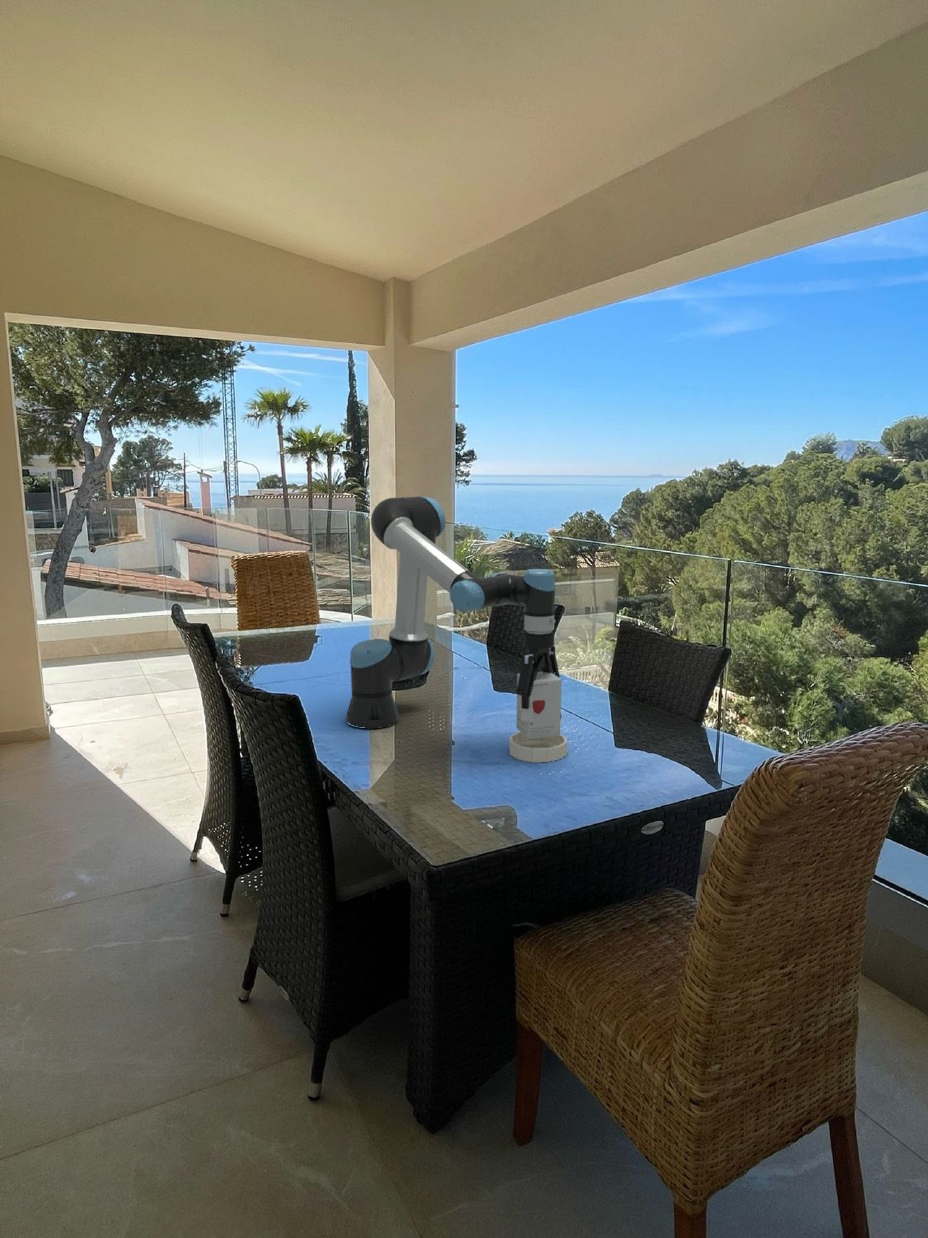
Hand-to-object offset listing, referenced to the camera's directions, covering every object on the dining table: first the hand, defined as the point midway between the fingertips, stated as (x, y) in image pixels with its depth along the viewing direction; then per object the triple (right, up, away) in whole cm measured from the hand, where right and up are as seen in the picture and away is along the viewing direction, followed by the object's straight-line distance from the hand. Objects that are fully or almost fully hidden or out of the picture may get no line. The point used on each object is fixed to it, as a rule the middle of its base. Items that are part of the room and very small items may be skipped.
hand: (538, 714), depth 197 cm
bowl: (0, -10, +2) cm, 10 cm away
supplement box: (0, -5, +1) cm, 5 cm away
